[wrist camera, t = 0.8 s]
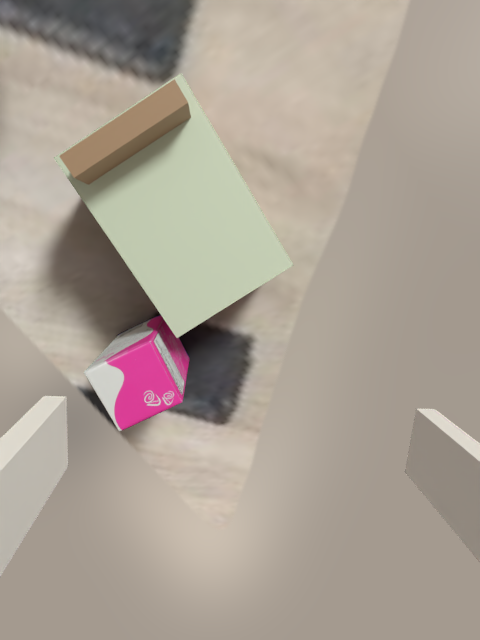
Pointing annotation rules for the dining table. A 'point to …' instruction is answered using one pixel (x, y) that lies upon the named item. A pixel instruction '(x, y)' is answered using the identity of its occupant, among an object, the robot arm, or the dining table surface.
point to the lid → (175, 206)
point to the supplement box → (140, 373)
